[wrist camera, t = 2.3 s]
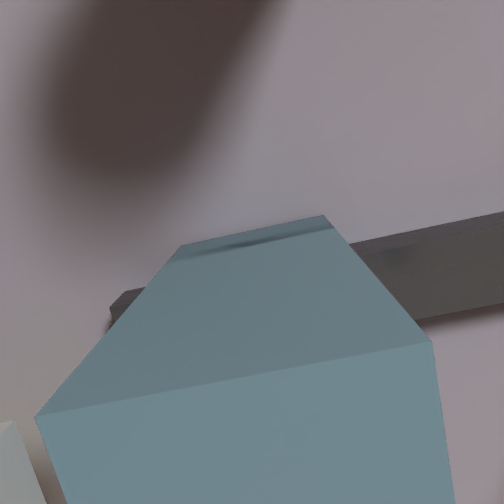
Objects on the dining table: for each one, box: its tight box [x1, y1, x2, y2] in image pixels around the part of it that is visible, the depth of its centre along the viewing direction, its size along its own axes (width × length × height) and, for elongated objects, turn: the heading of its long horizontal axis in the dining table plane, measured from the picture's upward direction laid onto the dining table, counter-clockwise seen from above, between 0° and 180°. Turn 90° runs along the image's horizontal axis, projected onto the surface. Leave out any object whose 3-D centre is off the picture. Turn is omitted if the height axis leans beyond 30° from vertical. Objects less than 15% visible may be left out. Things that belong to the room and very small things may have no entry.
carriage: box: [34, 215, 455, 504], centre depth 13 cm, size 6×6×12 cm
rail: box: [109, 212, 504, 323], centre depth 18 cm, size 24×3×2 cm, turn 103°
